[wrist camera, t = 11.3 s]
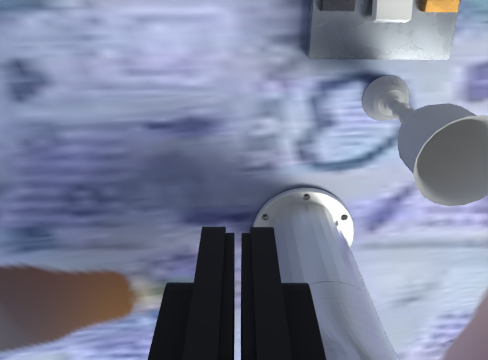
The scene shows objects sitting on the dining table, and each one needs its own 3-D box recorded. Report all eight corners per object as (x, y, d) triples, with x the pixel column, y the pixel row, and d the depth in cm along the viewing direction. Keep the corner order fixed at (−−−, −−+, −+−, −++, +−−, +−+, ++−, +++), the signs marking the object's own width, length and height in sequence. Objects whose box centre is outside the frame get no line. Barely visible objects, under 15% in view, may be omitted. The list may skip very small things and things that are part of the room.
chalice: (406, 53, 44) (504, 95, 28) (428, 108, 47) (529, 177, 30) (342, 88, 46) (399, 147, 29) (366, 139, 48) (431, 221, 32)
